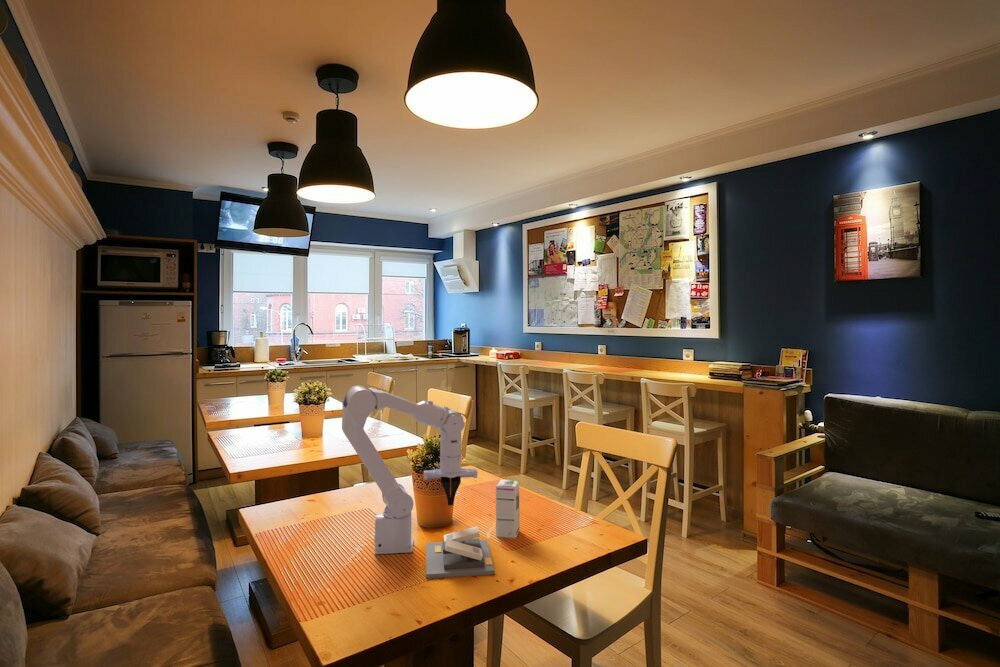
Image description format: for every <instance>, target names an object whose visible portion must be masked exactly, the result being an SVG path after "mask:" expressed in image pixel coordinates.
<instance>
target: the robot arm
mask: <svg viewBox="0 0 1000 667" xmlns="http://www.w3.org/2000/svg"><path fill="white" fill-rule="evenodd" d="M341 403H342V417H341V420H342V421H341V429H342V432H343V434H344V436H345V437H346V439H347V440H348V442H349V443H350V445H351V446H352V447H353V449H354V451H355V453H356V454H357V456H358V457H359V459H360V460H361V462H362V464H363V465H364V467H365V468H366V469H367V471H368V473H369V474H370V476H371V478H372V479H373V481H374V482H375V483H376V485H377V486H378V488H379V490H380V492H381V498H382V502H383V503H384V504H385V507H384V510H383V512H382V513H378V514H376V515H375V519H374V539H373V540H374V542H373V544H374V554H375V555H385V554H387V555H388V554H389V555H390V554H402V553H413V548H414V538H413V537H412V510H413V509H414V500H413V497H412V496H411V494H409V493H408V491H406V488H405V487H404V485H402V484H401V483H398V481H397V480H396V478H395V477H394V475H393V474H392V472H391V471H390V469H389V467H388V466H387V464H386V463H385V461H384V459H383V458H382V456H381V455H380V452H378V450H377V449H376V447H375V445H374V444H373V442H372V440H371V438H370V437H369V436H368V434H367V432H366V431H365V429H364V428H365V425H366V422H367V419H368V418H369V416H370V415H371V413H372V412H373V411H374V409H375V411H380V410H382V409H385V408H388V409H392V410H395V411H398V412H401V413H405V414H408V415H411V416H413V418H414V420H415V422H417V423H420V424H423V425H426V426H430V427H433V428H435V429H440V438H439V440H440V442H439V443H440V446H439V449H440V450H439V452H440V453H439V457H440V458H439V460H440V461H439V468H437V469H435V468H434V469H429V470H428V469H427V470H423V481H424V480H426V481H427V480H430V479H431V480H433V479H435V480H436V479H440V483H441V485H442V487H443V490H444V492H445V496H446V500H447V506H454V501H455V497H456V494H457V492H458V489H459V487H460V485H461V482H462V479H463V478H465V479H466V478H473V479H478V469H477V468H466V467H465V468H463V467H462V431H463V430H464V428H465V425H466V422H465V421H464V418H463V416H462V414H460V413H458V412H456V411H455V410H452V409H451V408H449V407H448V406H440V405H437V404H434V401H432V400H429V399H427V401H426V400H422V401H420V402H413V401H411V400H408V399H406V398H403V397H400V396H398V395H394V394H392V393H389V392H386V391H384V390H380V389H376V388H372V387H368V388H366V387H365V386H363V385H359V384H358V385H354V386H352V387H349V389H348V390H347V391H346V393H345V395H344V397H343V400H342V402H341ZM461 478H462V479H461Z"/></svg>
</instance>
